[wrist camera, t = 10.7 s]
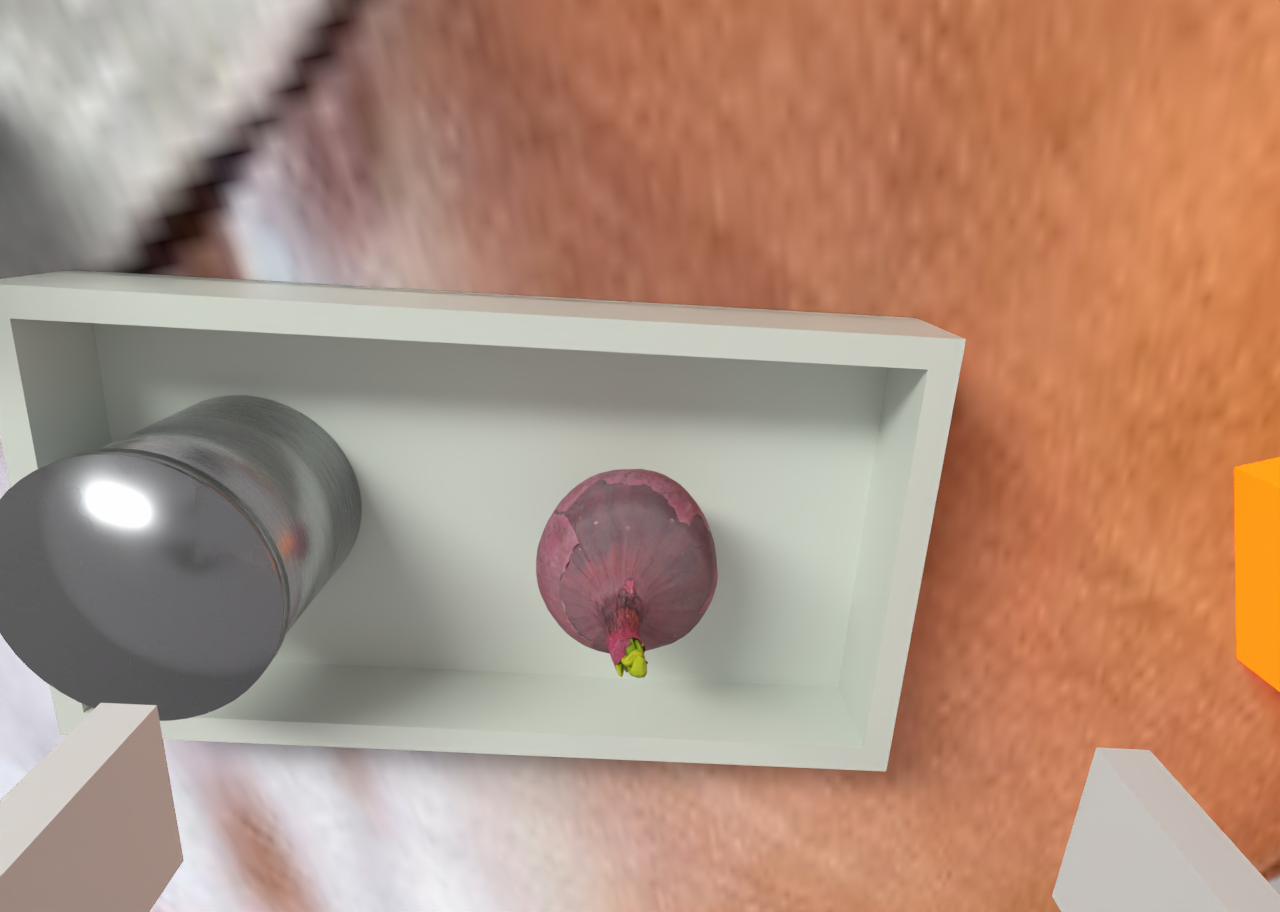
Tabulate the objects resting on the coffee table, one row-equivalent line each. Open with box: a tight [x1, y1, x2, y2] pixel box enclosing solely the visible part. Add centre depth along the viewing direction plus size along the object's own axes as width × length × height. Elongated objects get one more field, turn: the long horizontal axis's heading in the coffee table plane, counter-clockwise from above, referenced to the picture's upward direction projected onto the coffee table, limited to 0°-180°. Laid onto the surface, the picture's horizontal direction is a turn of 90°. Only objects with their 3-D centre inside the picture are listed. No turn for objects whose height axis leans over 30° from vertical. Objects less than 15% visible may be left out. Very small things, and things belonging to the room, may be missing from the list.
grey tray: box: [0, 270, 966, 771], centre depth 29 cm, size 16×30×4 cm, turn 87°
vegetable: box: [536, 469, 718, 678], centre depth 25 cm, size 6×6×10 cm
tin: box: [0, 395, 362, 721], centre depth 26 cm, size 8×8×8 cm
